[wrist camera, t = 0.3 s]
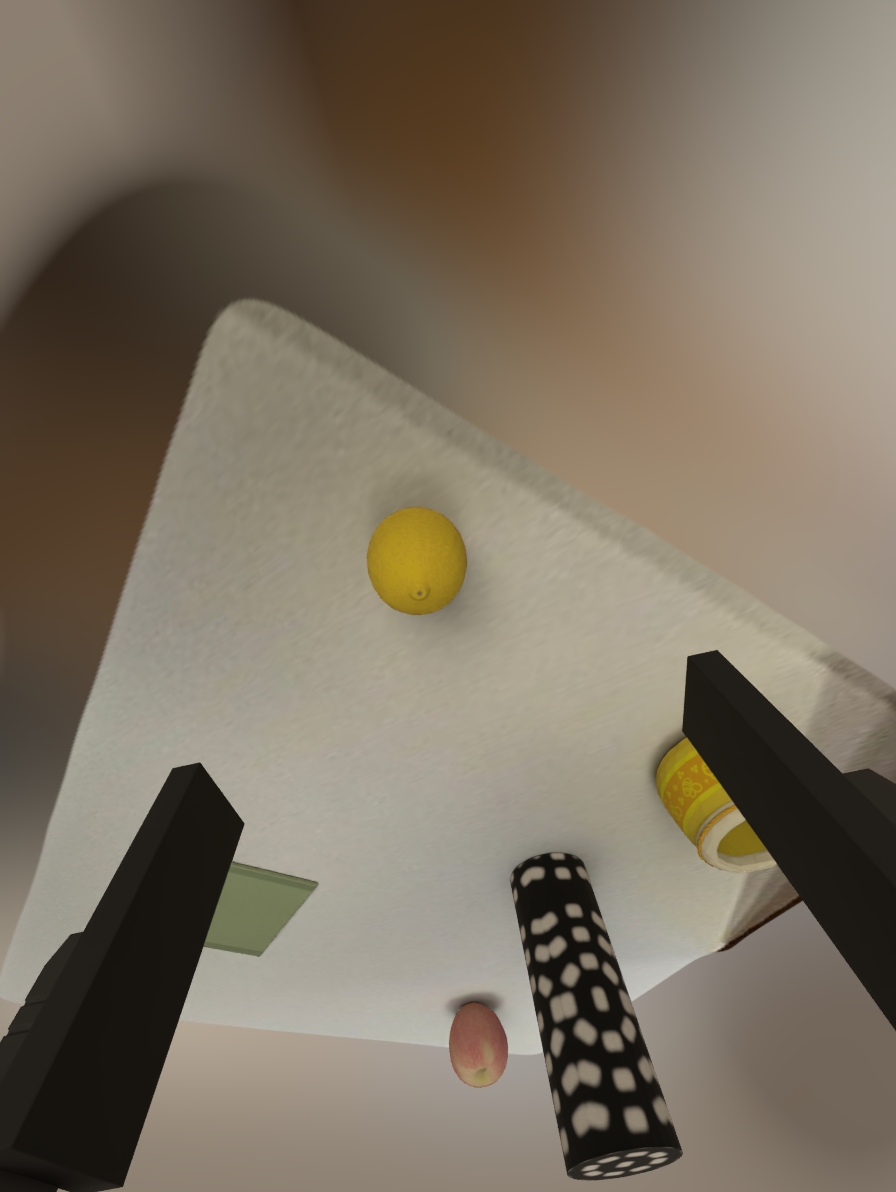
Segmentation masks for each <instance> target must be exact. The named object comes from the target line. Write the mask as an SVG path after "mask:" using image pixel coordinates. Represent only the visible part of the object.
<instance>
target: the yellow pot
mask: <svg viewBox="0 0 896 1192" xmlns="http://www.w3.org/2000/svg"><path fill="white" fill-rule="evenodd" d="M656 783H657V790H658V794H659V796H660V798H661V800H662V802H663V804H664V806H665V807H666V809H667V810H668V812H669V813H670V815H671V816H672V817H673V819H674V820H675V822H676V823H677V824H678V826H679V827H680V828H681V830H682V831H683V832H684V834H685V835H686V836H687V837H688V838H689V840H690V841H691V842H692V843H693V844H694V845H695V846H696V847H697V849H698V850H697V851H698V854H699V856H700V857H701V859H702V860H704V861H705V862H706V863H708V864H709V865H711V866H713V867H716V868H718V869H719V870H723V871H729V872H737V873H739V872H750V871H756V870H761V869H766V868H770V867H772V866H775V865H777V863H776V862H775V860H774V859H773V858H772V856H771V855H770V853H769V852H768V851H767V849H766V848H765V846H764V845H763V844H762V842H761V841H760V839H759V838H758V837H757V835H756V834H755V832H754V831H753V830H752V828H751V827H750V825H749V824H748V823H747V821H746V820H745V818H744V817H743V816H742V814H741V813H740V811H739V810H738V808H737V807H736V806H735V804H734V803H733V801H732V800H731V799H730V797H729V796H728V794H727V793H726V792H725V790H724V789H723V787H722V786H721V785H720V783H719V782H718V780H717V779H716V778H715V776H714V775H713V773H712V772H711V771H710V769H709V768H708V766H707V765H706V764H705V762H704V761H703V759H702V758H701V756H700V755H699V754H698V752H697V751H696V749H695V748H694V747H693V745H692V744H691V742H690V741H689V740H688V738H687V737H686V738H685V739H683V740H682V741H681V742H680V743H678V744H677V745H676V746H674V747H673V748H672V749H671V750H669V752H668V753H667V754H666V756H665V757H664V758H663V759H662V761H661V763H660V765H659V767H658V769H657V775H656Z"/></svg>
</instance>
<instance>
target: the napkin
mask: <svg viewBox="0 0 896 1192" xmlns="http://www.w3.org/2000/svg"><path fill="white" fill-rule="evenodd" d="M317 884H318V883H317V882H313V881H308V880H304V879H300V878H296V877H292V876H288V875H284V874H280V873H275V872H271V871H267V870H263V869H259V868H255V867H251V866H246V865H242V864H238V863H234V862H232V863H231V866H230V869H229V872H228V875H227V878H226V881H225V884H224V887H223V890H222V893H221V896H220V898H219V901H218V904H217V907H216V910H215V913H214V916H213V919H212V922H211V925H210V928H209V931H208V934H207V937H206V940H205V943H204V946H203V947H208V948H213V949H219V950H225V951H230V952H236V953H241V954H247V955H253V956H258V957H259V956H260V955H261V954H262V953H263V951H264V950H265V949H266V948H267V947H268V945H269V944H270V943H271V942H272V940H273V939H274V938H275V937H276V936H277V934H278V933H279V932H280V931H281V929H282V928H283V927H284V926H285V925H286V923H287V922H288V921H289V920H290V918H291V917H292V916H293V915H294V913H295V912H296V911H297V910H298V909H299V907H300V906H301V905H302V904H303V902H304V901H305V900H306V899H307V898H308V896H309V895H310V894H311V893H312V891H313V890H314V889H315V888H316V886H317Z"/></svg>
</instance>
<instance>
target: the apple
mask: <svg viewBox="0 0 896 1192" xmlns="http://www.w3.org/2000/svg"><path fill="white" fill-rule="evenodd" d="M449 1049H450V1057H451V1062H452V1066H453V1068H454V1070H455V1072H456V1074H457V1075H458V1077H459V1078H460V1079H461V1080H462V1081H463V1082H464V1083H466V1084H468V1085H469V1086H473V1087H478V1088H479V1087H480V1088H481V1087H486V1086H489V1085H492V1084H493V1083H495V1082H496V1081H497V1080H498V1079H499V1078H500V1077H501V1076H502V1074H503V1072H504V1070H505V1067H506V1064H507V1058H508V1043H507V1037H506V1034H505V1031H504V1029H503V1026H502V1025H501V1023H500V1021H499V1019H498V1017H497V1015H496V1014H495V1013H494V1012H493V1011H492V1010H491V1009H489V1008H488V1007H486V1006H484V1005H482V1004H479V1003H474V1002H473V1003H468V1004H466V1005H464V1006H463V1007H461V1008H460V1010H459V1011H458V1012H457V1014H456V1016H455V1018H454V1020H453V1023H452V1027H451V1031H450V1039H449Z"/></svg>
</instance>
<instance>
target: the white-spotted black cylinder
mask: <svg viewBox="0 0 896 1192" xmlns="http://www.w3.org/2000/svg"><path fill="white" fill-rule="evenodd" d="M510 882H511V888H512V893H513V898H514V903H515V908H516V913H517V918H518V924H519V929H520V934H521V939H522V944H523V949H524V954H525V960H526V965H527V970H528V975H529V980H530V985H531V990H532V996H533V1001H534V1006H535V1011H536V1016H537V1021H538V1026H539V1032H540V1037H541V1042H542V1047H543V1052H544V1057H545V1062H546V1067H547V1073H548V1078H549V1083H550V1088H551V1093H552V1098H553V1104H554V1108H555V1114H556V1119H557V1124H558V1129H559V1134H560V1140H561V1145H562V1150H563V1154H564V1160H565V1165H566V1170H567V1175H568V1176H569V1177H570V1178H573V1179H577V1180H604V1179H613V1178H620V1177H626V1176H630V1175H636V1174H640V1173H644V1172H647V1171H651V1170H654V1169H658V1168H660V1167H663V1166H666V1165H668V1164H670V1163H672V1162H674V1161H676V1160H678V1159H679V1158H680V1157H681V1156H682V1154H683V1152H682V1149H681V1146H680V1143H679V1140H678V1137H677V1135H676V1132H675V1129H674V1126H673V1123H672V1120H671V1117H670V1114H669V1111H668V1108H667V1105H666V1102H665V1100H664V1097H663V1094H662V1091H661V1088H660V1085H659V1082H658V1079H657V1076H656V1074H655V1070H654V1067H653V1064H652V1061H651V1059H650V1056H649V1053H648V1050H647V1047H646V1044H645V1041H644V1038H643V1035H642V1032H641V1029H640V1026H639V1023H638V1021H637V1018H636V1015H635V1012H634V1009H633V1007H632V1003H631V1000H630V997H629V994H628V991H627V988H626V985H625V983H624V980H623V977H622V974H621V971H620V968H619V965H618V962H617V959H616V956H615V953H614V950H613V947H612V945H611V942H610V939H609V936H608V933H607V930H606V927H605V924H604V921H603V918H602V915H601V912H600V909H599V907H598V904H597V901H596V898H595V895H594V892H593V889H592V886H591V883H590V880H589V877H588V874H587V871H586V869H585V866H584V863H583V862H582V861H581V860H580V859H579V858H577V857H575V856H572V855H569V854H564V853H550V854H544V855H540V856H537V857H534V858H531V859H529V860H527V861H525V862H523V863H522V864H520V865H519V866H518V867H517V868H516V869H515V870H514V871H513V873H512V875H511V879H510Z"/></svg>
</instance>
